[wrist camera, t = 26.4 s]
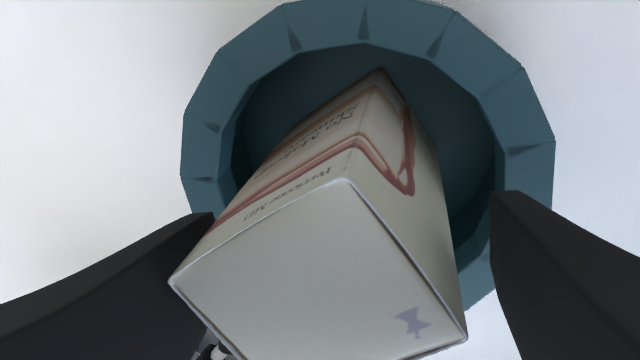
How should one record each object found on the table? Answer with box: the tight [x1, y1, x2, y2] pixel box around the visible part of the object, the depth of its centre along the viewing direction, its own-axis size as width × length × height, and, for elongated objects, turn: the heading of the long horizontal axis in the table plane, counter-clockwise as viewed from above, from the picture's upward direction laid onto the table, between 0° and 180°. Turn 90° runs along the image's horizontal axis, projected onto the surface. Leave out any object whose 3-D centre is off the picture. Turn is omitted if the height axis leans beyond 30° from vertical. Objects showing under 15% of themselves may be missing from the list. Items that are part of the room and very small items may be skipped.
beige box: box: [168, 67, 468, 360], centre depth 12 cm, size 5×4×10 cm
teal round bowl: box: [180, 0, 556, 311], centre depth 15 cm, size 11×11×6 cm
